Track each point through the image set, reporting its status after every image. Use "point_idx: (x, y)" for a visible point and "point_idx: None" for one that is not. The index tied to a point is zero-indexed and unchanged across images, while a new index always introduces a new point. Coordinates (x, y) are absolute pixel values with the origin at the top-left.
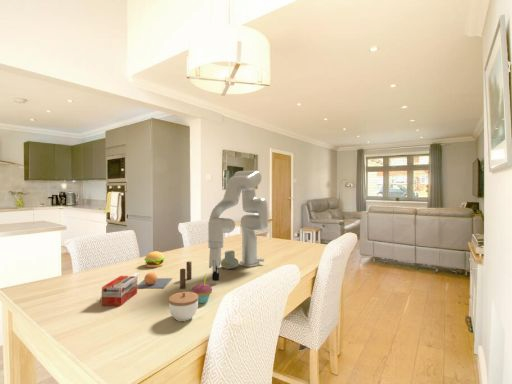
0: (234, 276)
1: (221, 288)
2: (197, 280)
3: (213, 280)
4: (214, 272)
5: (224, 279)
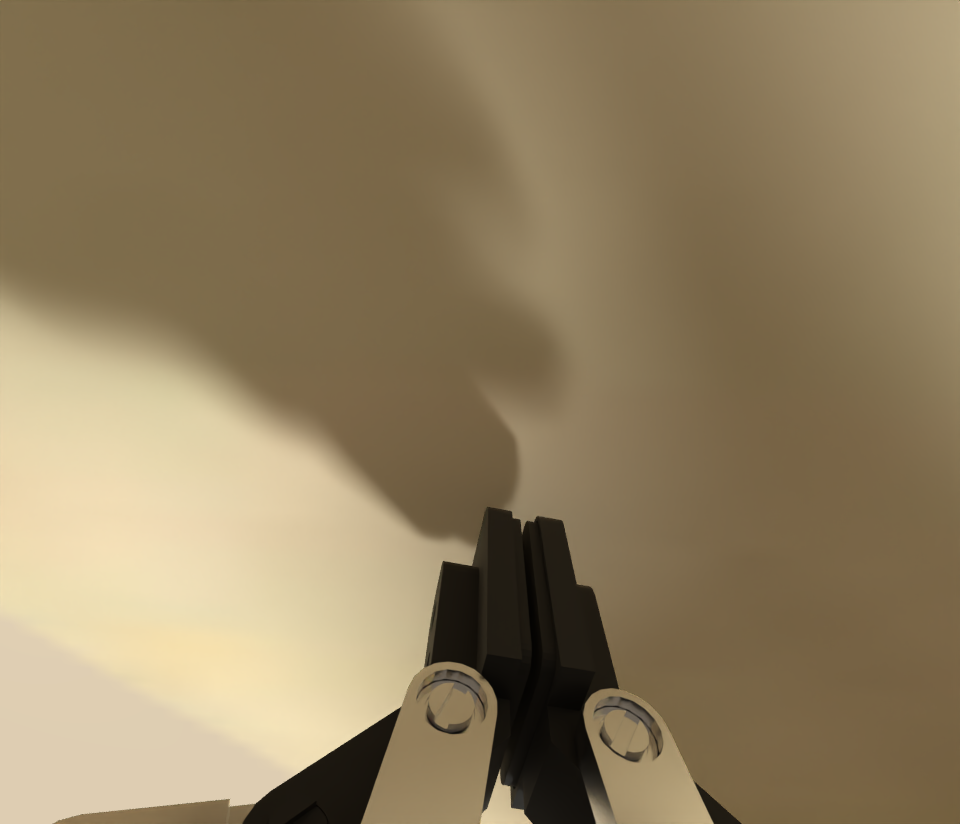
0: (773, 813)
1: (207, 595)
2: (857, 109)
3: (484, 528)
4: (372, 744)
5: (677, 678)
